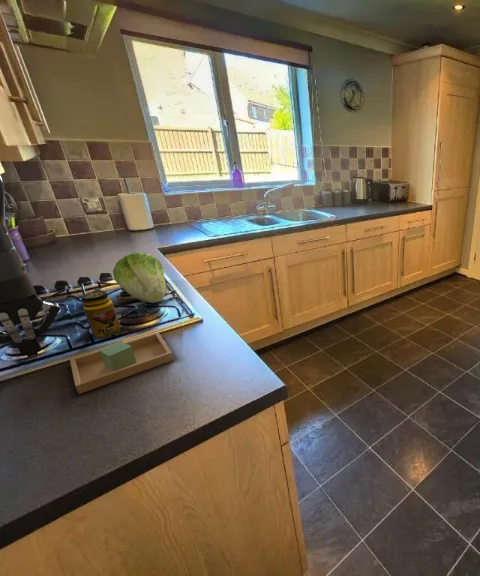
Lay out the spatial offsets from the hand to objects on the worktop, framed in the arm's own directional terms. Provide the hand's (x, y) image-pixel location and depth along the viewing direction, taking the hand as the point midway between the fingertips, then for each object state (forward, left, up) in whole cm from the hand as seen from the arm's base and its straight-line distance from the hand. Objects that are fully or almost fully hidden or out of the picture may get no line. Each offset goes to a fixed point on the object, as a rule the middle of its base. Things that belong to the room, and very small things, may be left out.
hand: (32, 354), depth 66 cm
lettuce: (+27, +40, -10) cm, 49 cm away
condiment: (+12, +20, -10) cm, 25 cm away
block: (+12, 0, -9) cm, 15 cm away
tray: (+13, 0, -9) cm, 16 cm away
